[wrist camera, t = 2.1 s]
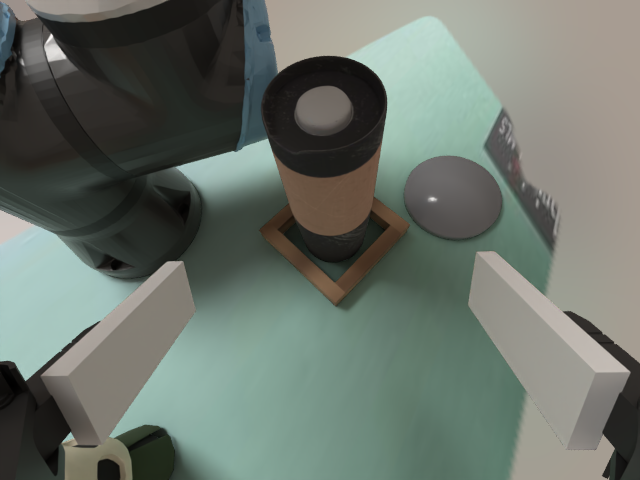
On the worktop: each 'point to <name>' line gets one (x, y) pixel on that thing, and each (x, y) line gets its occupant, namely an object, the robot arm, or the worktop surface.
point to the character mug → (122, 457)
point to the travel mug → (327, 148)
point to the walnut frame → (358, 270)
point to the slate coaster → (452, 197)
